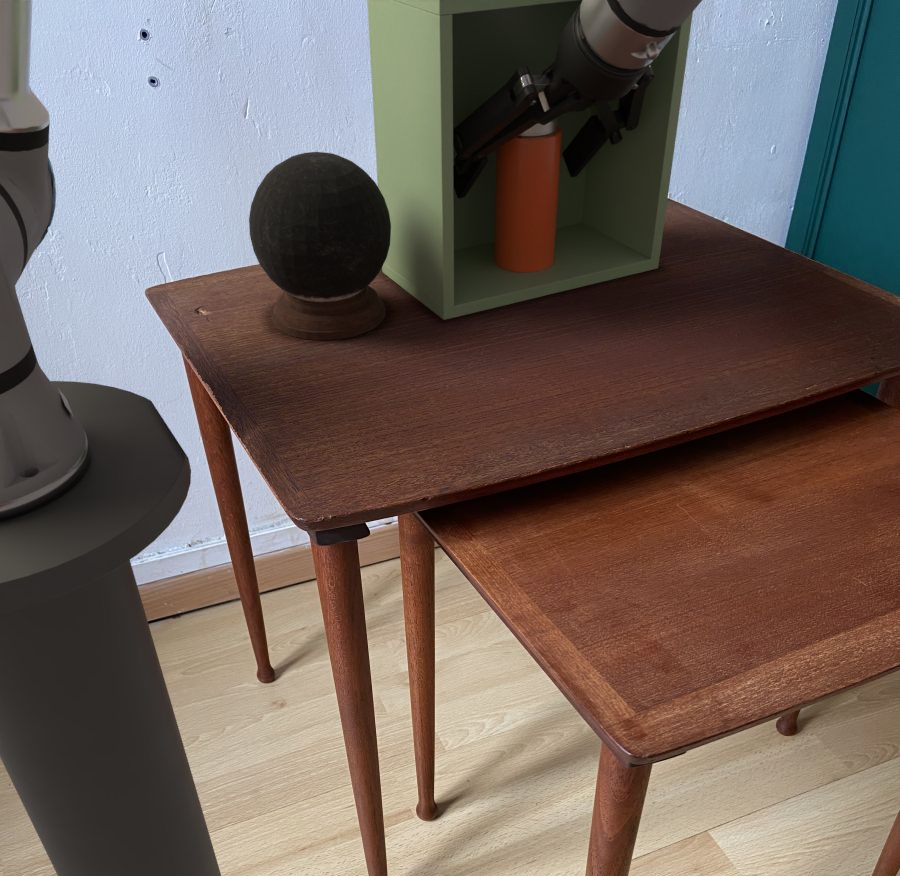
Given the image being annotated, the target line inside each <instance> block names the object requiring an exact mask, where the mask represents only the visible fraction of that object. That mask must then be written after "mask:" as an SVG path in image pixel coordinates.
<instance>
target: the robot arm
mask: <svg viewBox="0 0 900 876" xmlns="http://www.w3.org/2000/svg"><path fill="white" fill-rule="evenodd" d="M702 2H703V0H583V1H582V3H581V4H580V5H579V6H578V8H577V9H576V11H575V12H574V14H573V15H572V17H571V19H570V20H569V22H568V23H567V25H566V26H565V28H564V29H563V31H562V33H561V35H560V38H559V42H558V47H557V53H556V58H555V61H554V62H553V63H552V64H551V65H550V66H549V67H548V68H546V69H545V70H544V71H543V73H542V74H541V75H531V74H530V71H529V69H528V67H527V66H522V67H520V68H518V69H517V70H516V71H515V73H514V74H513V75H512V77H511V78H510V79H509V81H508V82H507V83H506V84H505V85H504V86H503V87H502V88H501V89H499V90H498V91H497V92H496V93H495V94H494V95H493V96H491V97H490V98H489V99H488V100H487V101H486V102H484V103H483V104H482V105H481V106H480V107H479V108H477V109H476V110H475V111H474V112H473V113H472V114H470V115H469V116H468V117H467V118H466V119H465V120H463V121H462V122H461V123H460V124H459V125H458V126H456V127H455V128H454V129H453V146H454V148H455V151H456V154H457V155H456V157H455V159H454V163H455V164H454V166H453V186H454V189H455V192H456V194H457V197H458V199H459V198H464V197H465V196H466V194H467V193H468V191H469V190H470V188H471V187H472V185H473V184H474V182H475V181H476V179H477V178H478V176H479V175H480V173H481V172H482V170H483V169H484V167H485V166H486V164H487V163H488V161H489V160H488V157H487V155H488V154H490V153H492V152H493V151H495V150H496V149H498V148H500V147H501V146H503V145H504V144H506V143H507V142H509V141H511V140H512V139H514V138H515V137H517V136H518V135H520V134H522V133H523V132H525V131H526V130H528V129H530V128H531V127H533V126H534V125H536V124H538V123H539V124H541V125H546V124H548V123H549V122H551V121H552V120H554V119H556V118H557V117H559V116H560V115H562V114H564V113H568V112H572V111H575V112H578V111H584V110H585V109H586V108H589V107H591V106H593V105H595V107H596V109H597V112H598V114H599V116H600V118H601V119H600V121H599V118H598V115H594V116H591V117H590V118H589V119H588V121H587V122H586V123H585V125H584V126H583V127H582V128H581V130H580V131H579V132H578V134H577V135H576V136H575V137H574V139H573V140H572V141H571V143H570V144H569V145H568V146H567V148H566V149H565V150H564V152H563V153H562V155H563V158H564V160H565V163H566V166H567V168H568V171H569V174H570V176H571V177H576V176H577V175H578V174H579V173H580V172H581V171H582V169H583V168H584V167H585V166H586V165H587V163H588V162H589V161H590V160H591V159H592V157H593V156H594V155H595V154H596V153H597V151H598V150H599V149H600V148H601V147H602V146H603V145H604V144H605V142H606V141H607V140H608V139H609V140H610V142H611V144H612V145H614V144H617V143H619V142H620V141H621V140H622V139H623V138H622V135H621V132H620V130H619V129H622V128H624V127H625V128H626V130H627V131H631V130H634V129H635V128H636V127H637V126H638V123H639V118H640V114H641V109H642V104H643V100H644V95H645V91H646V88H647V87H648V85H649V84H650V83H651V81H652V80H653V78H654V73H653V70H652V67H651V65H650V63H651V62H652V61H653V60H654V59H656V58H657V57H658V55H659V53H660V52H661V50H662V49H663V48H664V46H665V45H666V44H667V43H668V41H669V40H670V39H671V37H672V36H673V35H674V34H675V32H676V31H677V30H678V29H679V28H680V27H681V25H682V24H683V23H684V22H685V21H686V20H687V18H688V17H689V16H690V15H691V13H692V12H693V13H694V11H695V10H696V9H697V7H698V6H699V5H700V4H701V3H702ZM32 19H33V0H0V522H3V521H7V520H11V519H14V518H17V517H20V516H23V515H26V514H28V513H31V512H33V511H36V510H38V509H40V508H42V507H44V506H46V505H48V504H50V503H52V502H53V501H55V500H57V499H58V498H60V497H61V496H63V495H64V494H65V493H67V492H68V491H69V490H71V489H72V488H73V487H74V486H75V485H76V484H77V483H78V482H79V481H80V480H81V479H82V477H83V476H84V475H85V473H86V472H87V470H88V468H89V465H90V462H91V450H90V446H89V443H88V440H87V436H86V433H85V431H84V429H83V427H82V425H81V423H80V421H79V420H78V418H77V417H76V416H75V414H74V413H73V412H72V410H71V409H70V406H69V403H68V401H67V399H66V398H65V396H64V395H63V394H62V392H61V391H60V389H59V391H60V394H61V395H60V394H59V392H58V391H57V390H56V388H55V387H54V386H53V384H52V383H51V382H50V381H51V380H50V378H49V377H48V376H47V375H46V373H45V372H44V370H43V369H42V368H41V365H40V364H39V361H38V357H37V354H36V352H35V349H34V346H33V342H32V339H31V336H30V332H29V329H28V327H27V324H26V321H25V317H24V314H23V310H22V307H21V303H20V301H19V297H18V294H17V289H16V286H17V283H18V281H19V279H20V278H21V277H22V274H23V273H24V270H25V269H26V267H27V266H28V263H29V261H30V259H31V258H32V256H33V255H34V252H35V251H36V249H38V248H39V246H40V244H41V243H42V242H43V241H44V239H45V237H46V236H47V234H48V232H49V227H51V225H52V222H53V220H54V216H55V211H56V206H57V205H56V203H57V189H56V188H57V187H56V186H57V185H56V177H55V173H54V169H53V165H52V162H51V160H50V157H49V150H50V149H49V146H50V125H51V124H50V122H51V119H50V118H51V117H50V113H49V110H48V109H47V107H46V106H45V105H44V104H43V102H42V101H41V100H40V99H39V97H38V96H37V94H35V93H34V91H33V90H32V88H31V86H30V78H31V77H30V76H31V51H32V50H31V48H32V47H31V45H32V23H33V22H32V21H33V20H32ZM540 92H544V95H545V98H546V100H547V103H548V106H549V108H550V109H549V110H547V111H545V112H544V109H543V106H542V104H541V101H540V98H539V93H540ZM617 99H619V104H618V110H615V111H612V108H611V106H610V103H609V101H614V100H617ZM61 396H62V397H61Z"/></svg>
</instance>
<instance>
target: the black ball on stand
mask: <svg viewBox="0 0 900 876" xmlns="http://www.w3.org/2000/svg"><path fill="white" fill-rule="evenodd" d="M250 204H251V205H250V210H249V215H248V216H249V217H248V225H249V238H250V241H251V246H252V250H253V253H254V256H255V257H256V260H257V261H258V264H259V265H260V267H261V268H262V270H263V271H264V272H265V274H266V275H267V276H268V278H269V279H270V280H271V282H273V283H274V284H275V285H276V286H277V287H278V288H279V289H281V290H282V292H281V293H280V294H279V295H278V296H277V298H276V300H275V302H274V304H273V305H272V306H271V310H270V313H271V318H272V319H271V320H272V324H273V325H274V327H275V328H276V329H277V330H279V331H280V332H281V333H283V334H286V335H288V336H291V337H294V338H298V339H304V340H313V341H333V340H342V339H347V338H352V337H356V336H359V335H363V334H365V333H367V332H370V331H372V330H373V329H375V328H377V327H378V326H379V325H380V324H381V323H382V322H384V319H385V317H386V304H385V301H384V300H383V298H382V297H381V296H380V295H379V293H378V292H377V290H376V289H374V288H373V287H372V286H369V285H370V284H371V283H372V282H373V281H375V279H376V277H377V276H378V275H379V273H380V272H381V270H382V266H383V264H384V262H385V260H386V258H387V255H388V251H389V247H390V238H391V222H390V215H389V211H388V208H387V205H386V202H385V199H384V197H383V195H382V193H381V191H380V190H379V188H378V184H377V183H376V181H374V179H373V178H372V177H371V176H370V174H369V173H368V172H366V171H365V170H364V169H363V168H362V167H360V166H359V165H358V164H357V163H355V162H353V160H350V159H348V158H345V157H343V156H341V155H339V154H335V153H333V152H332V153H331V152H325V151H324V152H323V151H310V152H303V153H299V154H295V155H292V156H290V157H288V158H286V159H285V160H283V161H282V162H281V161H280V162H279V163H278V164H276V165H275V166H274V167H273V168H272V169H270V171H268V173H266V175H265V176H264V178H263V179H262V181H260V183H259V185H258V187H257V188H256V190H255V194H254V196H253V199H252V201H251V203H250Z"/></svg>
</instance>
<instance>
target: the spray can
mask: <svg viewBox="0 0 900 876" xmlns="http://www.w3.org/2000/svg"><path fill="white" fill-rule="evenodd" d="M539 98H540V101H541V104H542V106H543V109H544V112H545V111H547V110H549V109H550V108H549V106H548V103H547V100H546V98H545V95H544V92H540V93H539ZM556 122H557V118H556V119H554V120H552V121H551V122H549V123H548V124H546V125H541V124H539V123H538V124H536V125H534V126H533V127H531V128H530V129H528V130H526V131H525V132H523V133H522V134H520V135H518V136H517V137H515V138H514V139H512V140H511V141H509V142H507V143H506V144H504V145H503V146H501V147H500V148H498V149H496V189H495V236H494V262H495V264H496V265H497V266H498V267H500V268H502V269H505V270H508V271H513V272H537V271H542V270H545V269H547V268H549V267H551V266H552V265H553V263H554V253H555V237H556V221H557V205H558V189H559V173H560V157H561V141H562V129H561V128H560V127H558V126H556Z"/></svg>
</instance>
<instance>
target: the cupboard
mask: <svg viewBox="0 0 900 876" xmlns="http://www.w3.org/2000/svg"><path fill="white" fill-rule="evenodd" d="M366 1H367V20H368V38H369V39H368V40H369V56H370V73H371V75H370V76H371V88H372V89H371V93H372V110H373V127H374V128H373V129H374V146H375V148H374V149H375V164H376V182H377V183H376V184H377V186H378V188H379V190H380V191H381V193H382V195H383V197H384V199H385V202H386V205H387V208H388V211H389V215H390V222H391V238H390V247H389V251H388V255H387V258H386V260H385V262H384V264H383V266H382V268H381V270H382V273H383V274H384V275H386V276H387V277H388V278H389V279H391V280H392V281H393V282H394V283H396V285H399V286H400V287H401V289H403V290H405V291H406V292H407V293H409V294H410V295H411V296H413V297H414V298H415V299H416V300H417V301H419V302H420V303H421V304H423V305H424V306H425V307H427V308H428V309H429V310H430V311H432V312H433V313H434V314H435V315H437V317H439V318H441V319H442V320H443V321H446V320H449V319H453V318H458V317H462V316H466V315H471V314H474V313H479V312H483V311H487V310H492V309H496V308H499V307H504V306H508V305H511V304H516V303H520V302H524V301H525V302H526V301H529V300H533V299H537V298H540V297H546V296H549V295H554V294H557V293H562V292H565V291H571V290H574V289H579V288H582V287H587V286H591V285H594V284H599V283H604V282H607V281H611V280H615V279H620V278H625V277H628V276H633V275H637V274H640V273H645V272H649V271H652V270H657V269H659V265H660V257H661V252H662V251H661V249H662V243H663V237H664V236H663V234H664V228H665V221H666V215H667V214H666V213H667V205H668V199H669V192H670V191H669V190H670V184H671V177H672V176H671V175H672V171H673V170H672V169H673V162H674V155H675V154H674V153H675V147H676V139H677V132H678V126H679V117H680V109H681V102H682V96H683V88H684V81H685V73H686V66H687V58H688V52H689V51H688V50H689V44H690V36H691V28H692V21H693V16H694V15H693V14H694V11H693V12H692V13H691V15H690V16H689V17H688V18H687V20H686V21H685V22H684V23H683V24H682V25H681V27H680V28H679V29H678V30H677V31H676V32H675V34H674V35H673V36H672V37H671V39H670V40H669V41H668V43H667V44H666V45H665V46H664V48H663V49H662V50H661V52H660V53H659V55H658V57H657V58H656V59H654V60H653V61H652V62H651V63H650V65H651V67H652V70H653V73H654V78H653V80H652V81H651V83H650V84H649V85H648V87H647V88H646V91H645V95H644V100H643V104H642V109H641V114H640V118H639V123H638V126H637V127H636V128H635V129H634V130H631V131H627V130H626V128H625V127H624V128H622V129H619V130H620V132H621V135H622V138H623V139H622V140H621V141H620V142H619V143H617V144H614V145H612V144H611V142H610V140H609V139H608V140H607V141H606V142H605V144H604V145H603V146H602V147H601V148H600V149H599V150H598V151H597V153H596V154H595V155H594V156H593V157H592V159H591V160H590V161H589V162H588V163H587V165H586V166H585V167H584V168H583V169H582V171H581V172H580V173H579V174H578V175H577V176H576V177H571V176H570V174H569V171H568V168H567V166H566V163H565V160H564V158H563V155H562V153H563V152H564V150H565V149H566V148H567V146H568V145H569V144H570V143H571V141H572V140H573V139H574V137H575V136H576V135H577V134H578V132H579V131H580V130H581V128H582V127H583V126H584V125H585V123H586V122H587V121H588V119H589V118H590V117H591V116H594V115H598V118H599V121H600V119H601V118H600V116H599V114H598V112H597V109H596V107H595V105H593V106H591V107H589V108H586V109H585V110H584V111H578V112H575V111H572V112H568V113H564V114H562V115H560V116H559V117H557V122H556V126H558V127H560V128H561V129H562V141H561V157H560V173H559V189H558V205H557V221H556V237H555V253H554V263H553V265H552V266H551V267H549V268H547V269H545V270H542V271H537V272H513V271H508V270H505V269H502V268H500V267H498V266H497V265H496V264H495V262H494V236H495V189H496V150H495V151H493V152H492V153H490V154H488V155H487V157H488V160H489V161H488V163H487V164H486V166H485V167H484V169H483V170H482V172H481V173H480V175H479V176H478V178H477V179H476V181H475V182H474V184H473V185H472V187H471V188H470V190H469V191H468V193H467V194H466V196H465V197H464V198H459V199H458V197H457V194H456V192H455V189H454V186H453V166H454V164H455V163H454V159H455V157H456V155H457V154H456V151H455V148H454V146H453V129H454V128H455V127H456V126H458V125H459V124H460V123H461V122H462V121H463V120H465V119H466V118H467V117H468V116H469V115H470V114H472V113H473V112H474V111H475V110H476V109H477V108H479V107H480V106H481V105H482V104H483V103H484V102H486V101H487V100H488V99H489V98H490V97H491V96H493V95H494V94H495V93H496V92H497V91H498V90H499V89H501V88H502V87H503V86H504V85H505V84H506V83H507V82H508V81H509V79H510V78H511V77H512V75H513V74H514V73H515V71H516V70H517V69H518V68H520V67H522V66H527V67H528V69H529V71H530V74H531V75H541V74H542V73H543V71H544V70H545V69H546V68H548V67H549V66H550V65H551V64H552V63H553V62H554V61H555V58H556V53H557V47H558V42H559V38H560V35H561V33H562V31H563V29H564V28H565V26H566V25H567V23H568V22H569V20H570V19H571V17H572V15H573V14H574V12H575V11H576V9H577V8H578V6H579V5H580V4H581V3H582V1H583V0H366ZM609 103H610V106H611V108H612V111H615V110H618V104H619V99H617V100H614V101H609Z"/></svg>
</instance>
